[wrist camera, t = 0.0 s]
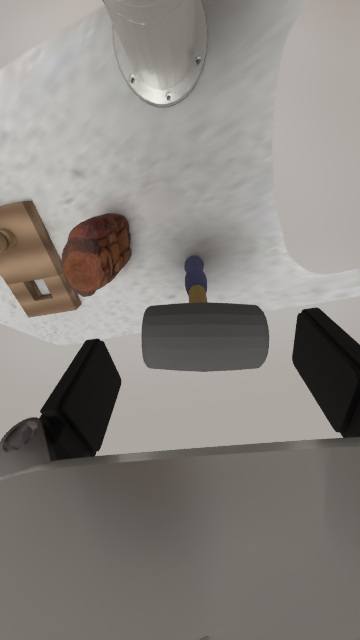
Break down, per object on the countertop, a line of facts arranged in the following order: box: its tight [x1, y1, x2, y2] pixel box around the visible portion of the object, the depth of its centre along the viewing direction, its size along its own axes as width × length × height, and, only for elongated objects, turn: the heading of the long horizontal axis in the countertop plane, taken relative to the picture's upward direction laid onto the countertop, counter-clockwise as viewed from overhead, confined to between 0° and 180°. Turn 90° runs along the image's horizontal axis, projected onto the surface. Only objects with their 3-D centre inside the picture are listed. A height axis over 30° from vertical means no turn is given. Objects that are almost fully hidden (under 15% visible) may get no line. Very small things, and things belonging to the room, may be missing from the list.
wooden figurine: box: [62, 213, 131, 297], centre depth 36 cm, size 12×6×18 cm, turn 175°
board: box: [0, 201, 81, 317], centre depth 45 cm, size 22×12×3 cm, turn 10°
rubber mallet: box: [142, 256, 269, 372], centre depth 33 cm, size 12×8×30 cm, turn 91°
